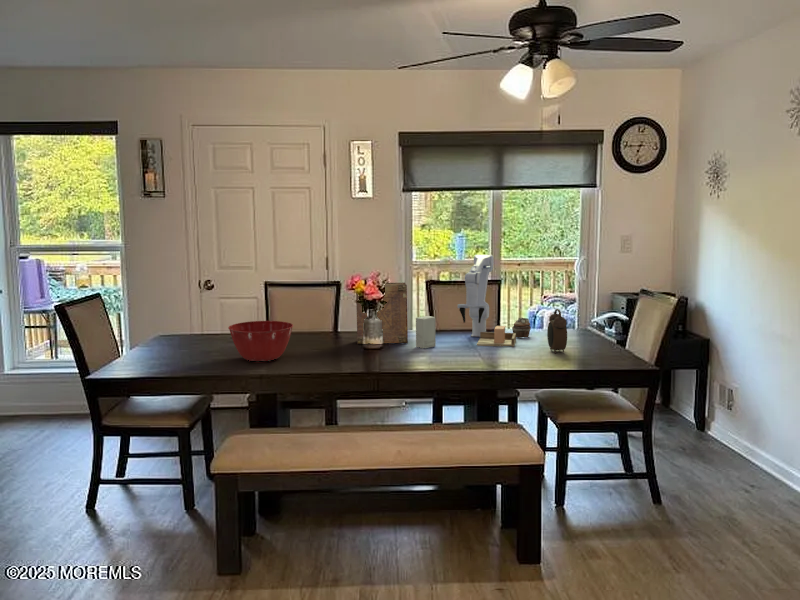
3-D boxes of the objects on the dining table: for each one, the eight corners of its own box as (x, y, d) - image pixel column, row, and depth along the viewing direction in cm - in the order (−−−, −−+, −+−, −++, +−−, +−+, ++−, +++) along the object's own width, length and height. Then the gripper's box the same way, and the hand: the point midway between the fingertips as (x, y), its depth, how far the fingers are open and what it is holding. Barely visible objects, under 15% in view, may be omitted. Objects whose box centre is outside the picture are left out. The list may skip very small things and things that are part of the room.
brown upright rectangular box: (406, 340, 332) (405, 282, 328) (407, 343, 323) (407, 284, 319) (357, 341, 330) (356, 283, 327) (357, 344, 321) (356, 285, 317)
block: (494, 342, 317) (494, 328, 316) (496, 339, 326) (496, 325, 325) (503, 343, 316) (503, 329, 315) (504, 339, 324) (505, 326, 324)
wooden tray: (480, 339, 332) (480, 331, 331) (515, 340, 328) (516, 333, 327) (476, 345, 316) (476, 337, 316) (513, 346, 312) (514, 338, 312)
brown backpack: (544, 348, 307) (545, 307, 304) (560, 348, 307) (560, 307, 304) (552, 355, 292) (553, 311, 290) (568, 355, 293) (569, 311, 290)
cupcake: (516, 334, 345) (516, 316, 344) (533, 336, 340) (533, 317, 338) (508, 337, 338) (508, 318, 336) (525, 339, 332) (526, 319, 331)
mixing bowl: (306, 358, 291) (305, 324, 289) (252, 369, 271) (250, 333, 269) (271, 350, 310) (270, 318, 308) (217, 359, 290) (216, 326, 288)
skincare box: (428, 344, 319) (427, 315, 317) (436, 346, 315) (436, 316, 313) (415, 347, 314) (415, 317, 312) (423, 349, 309) (423, 318, 307)
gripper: (456, 296, 324) (456, 323, 325) (485, 297, 320) (485, 324, 322) (458, 295, 331) (458, 321, 332) (487, 295, 327) (486, 322, 329)
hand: (471, 322), depth 328 cm, fingers open, 7 cm apart
